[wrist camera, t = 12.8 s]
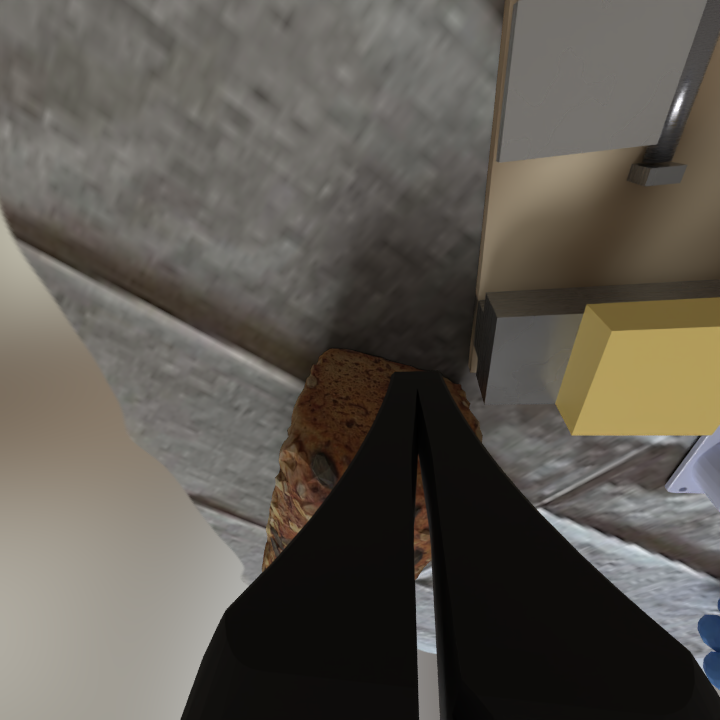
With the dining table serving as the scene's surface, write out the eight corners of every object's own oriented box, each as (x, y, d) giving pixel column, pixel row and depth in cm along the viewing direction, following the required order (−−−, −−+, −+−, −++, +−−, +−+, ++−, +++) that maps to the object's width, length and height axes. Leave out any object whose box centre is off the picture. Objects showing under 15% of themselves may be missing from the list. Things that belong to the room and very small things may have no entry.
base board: (961, -130, 9) (1002, -147, 9) (683, 358, 19) (692, 367, 19) (509, -42, 11) (515, -51, 10) (468, 364, 21) (470, 372, 20)
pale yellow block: (682, 261, 15) (795, 323, 11) (637, 357, 18) (711, 435, 14) (554, 270, 16) (612, 330, 12) (532, 360, 19) (571, 435, 15)
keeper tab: (741, -61, 10) (769, -74, 9) (661, 158, 13) (678, 160, 12) (514, -21, 11) (523, -30, 10) (493, 177, 14) (498, 180, 13)
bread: (319, 333, 21) (268, 469, 13) (477, 377, 22) (519, 530, 14) (283, 488, 32) (244, 613, 24) (389, 514, 33) (384, 642, 25)
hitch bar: (997, -137, 9) (1518, -352, 5) (707, 344, 19) (799, 414, 14) (509, -42, 11) (577, -137, 7) (469, 351, 20) (487, 416, 16)
